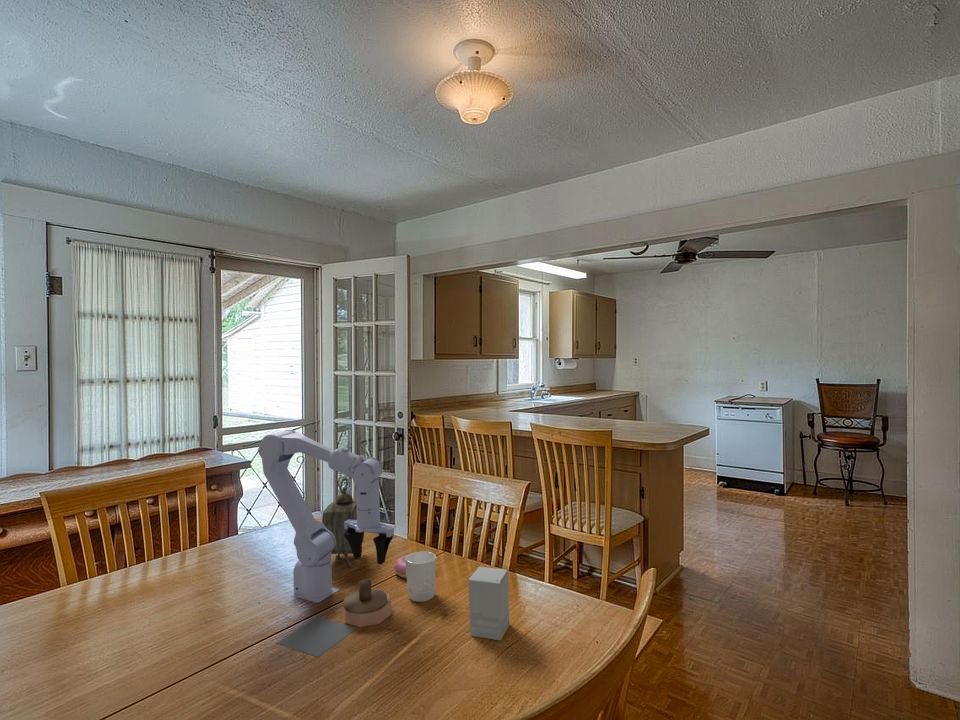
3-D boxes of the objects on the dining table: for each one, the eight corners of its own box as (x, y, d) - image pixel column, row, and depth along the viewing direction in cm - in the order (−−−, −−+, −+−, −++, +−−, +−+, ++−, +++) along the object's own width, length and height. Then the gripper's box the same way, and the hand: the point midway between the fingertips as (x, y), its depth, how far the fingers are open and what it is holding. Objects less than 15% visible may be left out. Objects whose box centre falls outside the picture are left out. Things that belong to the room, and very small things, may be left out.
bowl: (335, 622, 117) (334, 607, 117) (364, 601, 127) (364, 587, 127) (370, 632, 112) (370, 617, 112) (399, 610, 122) (398, 596, 122)
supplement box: (510, 624, 115) (509, 569, 115) (501, 641, 108) (499, 583, 108) (479, 619, 117) (478, 565, 117) (468, 636, 110) (467, 579, 110)
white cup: (431, 604, 125) (430, 564, 124) (401, 602, 126) (400, 562, 126) (440, 589, 132) (439, 552, 132) (412, 587, 134) (411, 550, 134)
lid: (334, 607, 117) (334, 586, 117) (363, 589, 126) (363, 569, 126) (367, 617, 112) (367, 595, 112) (395, 598, 121) (395, 577, 121)
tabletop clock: (352, 570, 145) (351, 484, 145) (321, 570, 145) (319, 485, 145) (365, 550, 160) (363, 472, 160) (336, 551, 160) (335, 473, 160)
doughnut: (440, 569, 145) (440, 555, 145) (416, 584, 136) (415, 569, 136) (411, 561, 151) (411, 548, 151) (386, 575, 142) (386, 561, 142)
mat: (276, 645, 108) (276, 642, 108) (317, 619, 119) (317, 616, 119) (318, 660, 102) (317, 657, 102) (357, 630, 113) (357, 628, 113)
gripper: (335, 508, 127) (336, 561, 128) (381, 515, 121) (382, 571, 121) (354, 500, 134) (355, 551, 134) (398, 507, 127) (399, 560, 127)
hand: (369, 560), depth 128 cm, fingers open, 7 cm apart
